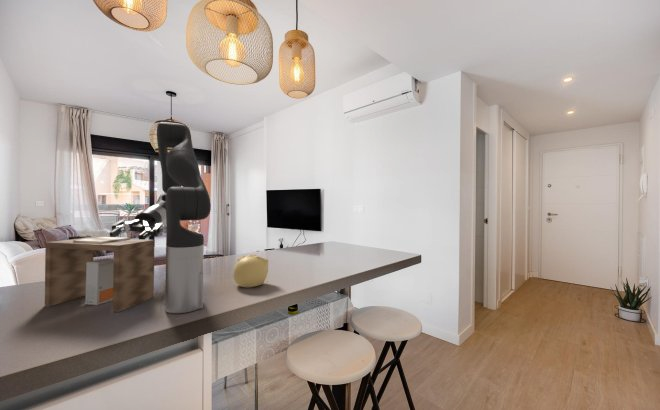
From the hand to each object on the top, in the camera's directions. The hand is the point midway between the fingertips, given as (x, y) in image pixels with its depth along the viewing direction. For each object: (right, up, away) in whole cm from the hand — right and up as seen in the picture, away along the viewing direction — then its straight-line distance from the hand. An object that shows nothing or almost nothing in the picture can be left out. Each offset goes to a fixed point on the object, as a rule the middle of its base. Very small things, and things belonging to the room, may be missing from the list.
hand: (125, 237), depth 89 cm
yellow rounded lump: (+38, -18, +9) cm, 43 cm away
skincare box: (0, -18, -9) cm, 20 cm away
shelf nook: (0, -18, -9) cm, 20 cm away
